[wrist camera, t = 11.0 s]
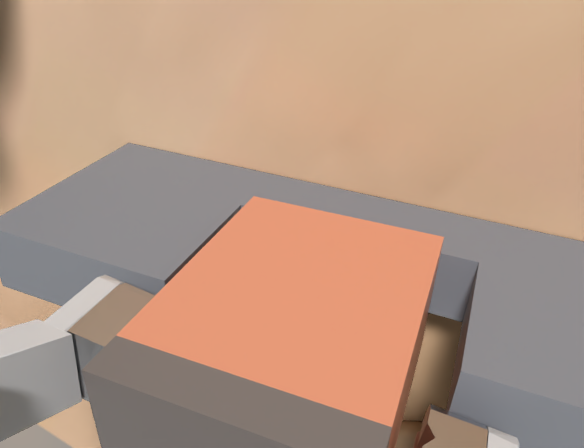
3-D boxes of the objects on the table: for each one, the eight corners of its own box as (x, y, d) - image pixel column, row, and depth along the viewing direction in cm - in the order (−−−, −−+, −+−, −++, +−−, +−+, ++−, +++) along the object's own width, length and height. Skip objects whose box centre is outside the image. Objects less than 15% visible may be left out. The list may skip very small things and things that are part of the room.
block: (255, 299, 14) (114, 496, 9) (253, 196, 13) (82, 370, 8) (421, 346, 13) (355, 604, 8) (443, 236, 11) (377, 478, 6)
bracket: (135, 192, 18) (2, 285, 13) (128, 142, 17) (-17, 225, 12) (679, 328, 13) (753, 545, 8) (714, 269, 12) (816, 479, 8)
